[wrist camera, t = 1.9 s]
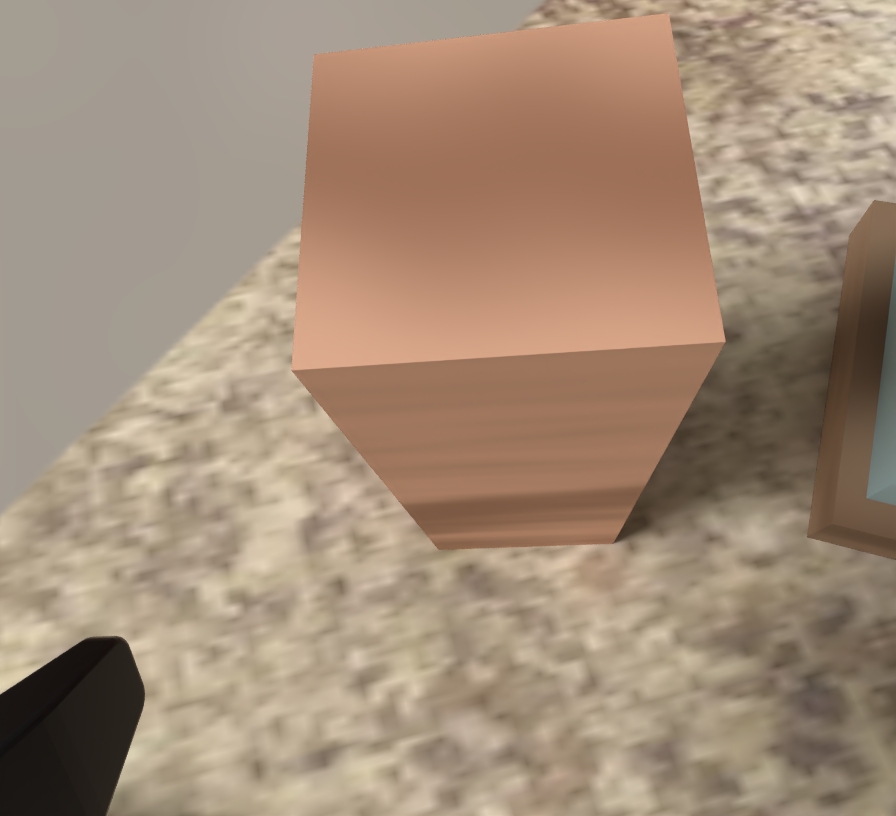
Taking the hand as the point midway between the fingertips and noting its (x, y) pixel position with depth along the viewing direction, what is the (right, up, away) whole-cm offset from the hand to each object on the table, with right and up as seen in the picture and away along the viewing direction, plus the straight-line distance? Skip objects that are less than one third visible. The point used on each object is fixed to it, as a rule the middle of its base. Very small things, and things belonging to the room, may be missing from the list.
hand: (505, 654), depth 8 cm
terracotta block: (+2, +1, +13) cm, 13 cm away
